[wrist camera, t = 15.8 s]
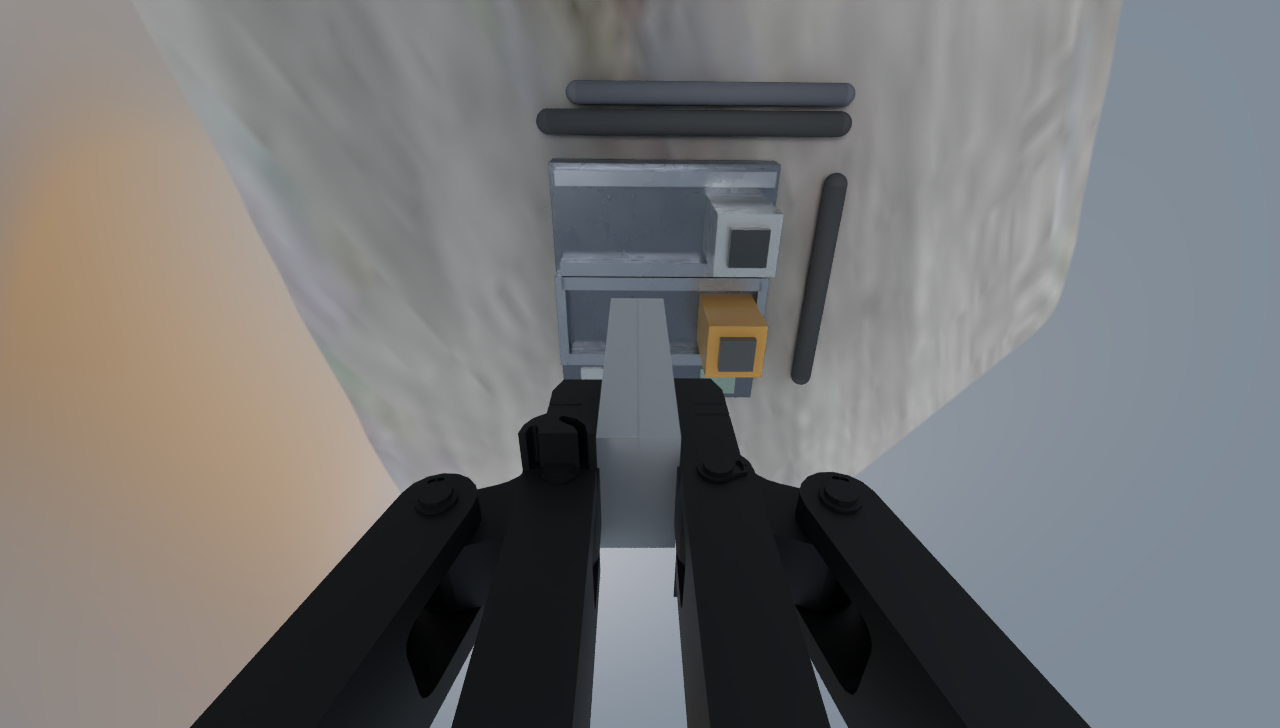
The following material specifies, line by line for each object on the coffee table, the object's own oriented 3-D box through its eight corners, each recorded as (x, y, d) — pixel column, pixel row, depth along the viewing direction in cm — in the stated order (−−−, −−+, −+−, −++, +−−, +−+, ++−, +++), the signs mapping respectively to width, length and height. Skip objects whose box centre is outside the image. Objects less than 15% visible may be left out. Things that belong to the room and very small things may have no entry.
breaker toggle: (699, 293, 41) (710, 330, 35) (751, 294, 41) (770, 330, 35) (696, 340, 43) (706, 381, 37) (745, 340, 43) (762, 381, 37)
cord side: (823, 171, 38) (830, 174, 37) (844, 171, 38) (852, 175, 37) (787, 378, 47) (792, 387, 45) (805, 378, 47) (811, 388, 45)
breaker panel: (552, 158, 38) (531, 179, 30) (773, 160, 38) (808, 182, 30) (567, 384, 47) (554, 443, 39) (745, 385, 47) (766, 444, 40)
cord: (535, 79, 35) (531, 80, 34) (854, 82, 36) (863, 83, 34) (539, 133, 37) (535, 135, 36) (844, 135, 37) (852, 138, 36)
